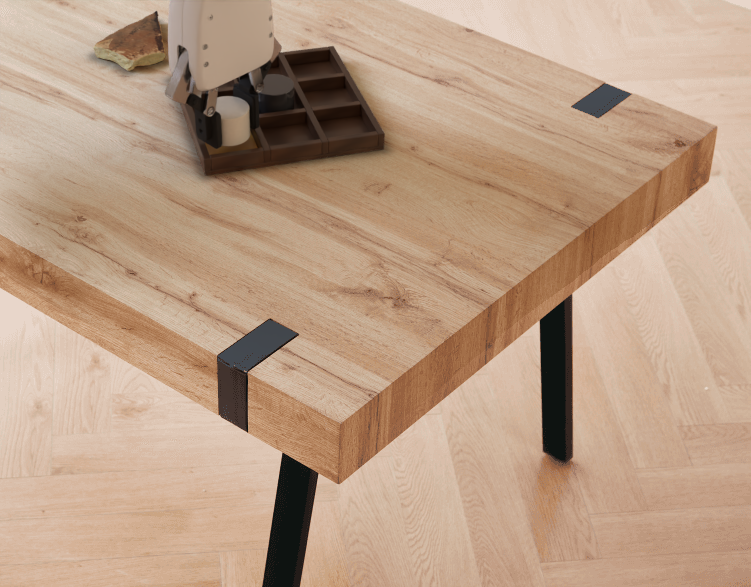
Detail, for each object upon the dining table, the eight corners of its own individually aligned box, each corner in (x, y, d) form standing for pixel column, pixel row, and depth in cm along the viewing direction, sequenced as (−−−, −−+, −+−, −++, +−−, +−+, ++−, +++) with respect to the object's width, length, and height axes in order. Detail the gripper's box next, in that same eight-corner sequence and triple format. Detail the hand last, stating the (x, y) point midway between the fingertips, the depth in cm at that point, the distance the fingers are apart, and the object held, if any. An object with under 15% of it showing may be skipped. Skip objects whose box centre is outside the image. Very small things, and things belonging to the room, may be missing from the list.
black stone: (259, 123, 115) (258, 97, 113) (249, 102, 118) (248, 76, 116) (298, 118, 116) (298, 92, 114) (288, 97, 119) (288, 71, 117)
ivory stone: (211, 149, 108) (210, 121, 106) (203, 125, 111) (201, 98, 109) (254, 143, 109) (253, 116, 107) (244, 120, 112) (244, 93, 110)
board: (205, 175, 108) (203, 159, 107) (171, 80, 122) (170, 65, 120) (383, 149, 113) (384, 133, 112) (333, 61, 127) (333, 45, 125)
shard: (157, 21, 132) (156, 8, 131) (204, 41, 129) (203, 27, 127) (92, 55, 125) (90, 41, 124) (140, 77, 122) (138, 63, 121)
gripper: (259, -75, 104) (263, 89, 117) (119, -24, 95) (139, 150, 107) (314, -51, 101) (312, 116, 113) (175, 6, 91) (189, 182, 103)
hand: (228, 131), depth 110 cm, fingers closed on ivory stone, 4 cm apart
